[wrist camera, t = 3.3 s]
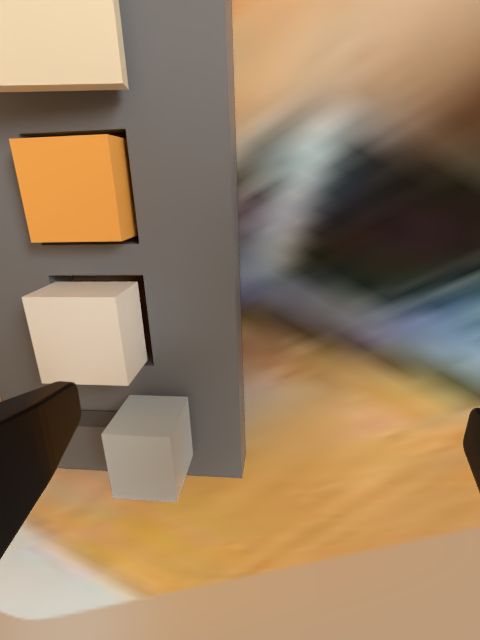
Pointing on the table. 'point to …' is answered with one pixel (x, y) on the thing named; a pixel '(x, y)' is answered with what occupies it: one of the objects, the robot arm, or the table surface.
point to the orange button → (76, 188)
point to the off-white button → (87, 332)
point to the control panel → (147, 228)
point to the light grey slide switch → (149, 448)
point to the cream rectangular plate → (61, 46)
